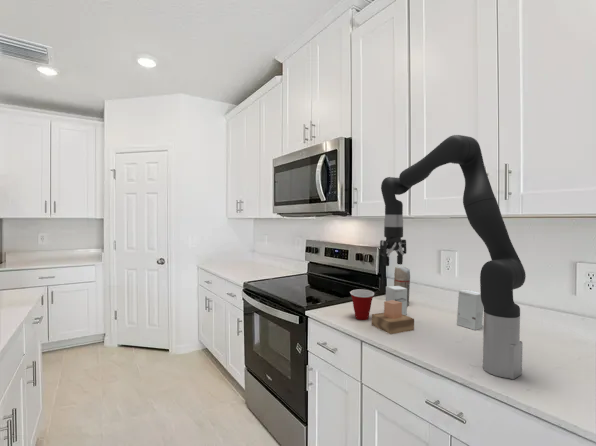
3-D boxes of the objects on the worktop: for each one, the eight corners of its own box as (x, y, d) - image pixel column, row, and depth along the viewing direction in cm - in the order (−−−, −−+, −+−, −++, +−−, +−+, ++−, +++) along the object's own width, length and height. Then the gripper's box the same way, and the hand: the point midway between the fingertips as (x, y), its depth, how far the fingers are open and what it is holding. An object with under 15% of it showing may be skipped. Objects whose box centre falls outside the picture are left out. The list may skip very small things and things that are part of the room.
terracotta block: (401, 316, 137) (401, 302, 137) (393, 318, 134) (394, 304, 134) (392, 314, 141) (392, 299, 141) (384, 315, 138) (384, 301, 138)
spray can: (398, 301, 181) (398, 265, 180) (412, 304, 175) (412, 266, 174) (389, 304, 175) (390, 266, 175) (404, 307, 169) (404, 268, 169)
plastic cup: (351, 321, 145) (351, 294, 145) (348, 314, 156) (348, 289, 156) (376, 322, 144) (376, 294, 144) (372, 315, 155) (372, 289, 155)
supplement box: (393, 316, 153) (393, 289, 153) (385, 312, 161) (385, 286, 160) (407, 315, 155) (407, 288, 155) (398, 311, 163) (398, 285, 162)
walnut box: (414, 331, 135) (414, 318, 135) (390, 335, 130) (390, 322, 130) (394, 322, 146) (394, 311, 146) (371, 325, 141) (371, 314, 141)
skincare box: (456, 325, 142) (457, 290, 141) (464, 322, 145) (464, 288, 145) (476, 330, 134) (476, 294, 134) (484, 328, 138) (484, 292, 138)
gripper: (389, 226, 130) (389, 267, 130) (411, 225, 138) (411, 264, 139) (375, 225, 136) (374, 265, 136) (397, 225, 144) (396, 262, 145)
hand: (393, 265), depth 137 cm, fingers open, 8 cm apart
